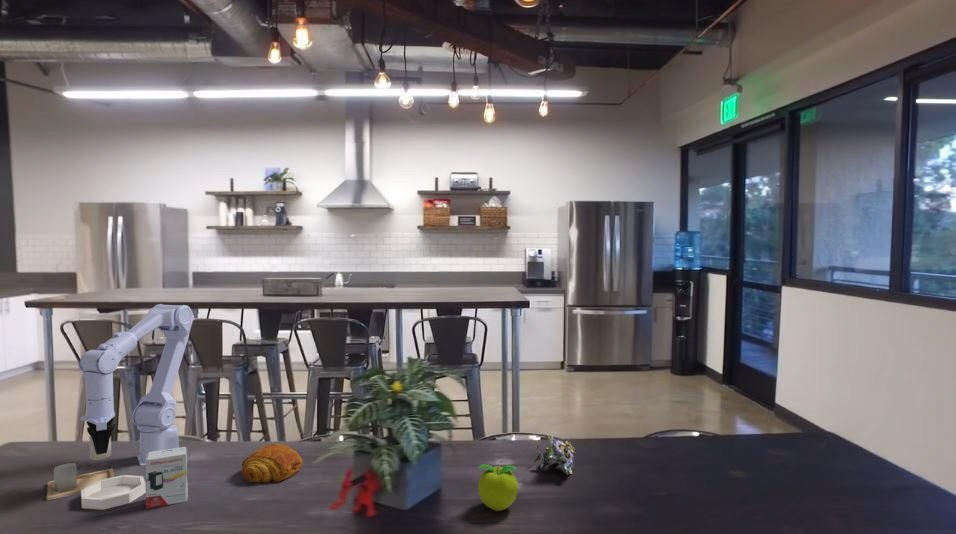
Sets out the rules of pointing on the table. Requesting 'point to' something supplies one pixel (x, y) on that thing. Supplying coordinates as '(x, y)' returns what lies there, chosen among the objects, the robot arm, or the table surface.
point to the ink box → (166, 477)
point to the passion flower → (558, 454)
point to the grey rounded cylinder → (101, 456)
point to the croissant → (271, 463)
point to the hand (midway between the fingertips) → (101, 450)
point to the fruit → (497, 487)
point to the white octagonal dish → (112, 492)
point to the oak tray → (79, 483)
